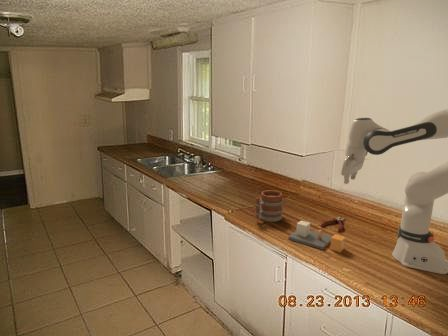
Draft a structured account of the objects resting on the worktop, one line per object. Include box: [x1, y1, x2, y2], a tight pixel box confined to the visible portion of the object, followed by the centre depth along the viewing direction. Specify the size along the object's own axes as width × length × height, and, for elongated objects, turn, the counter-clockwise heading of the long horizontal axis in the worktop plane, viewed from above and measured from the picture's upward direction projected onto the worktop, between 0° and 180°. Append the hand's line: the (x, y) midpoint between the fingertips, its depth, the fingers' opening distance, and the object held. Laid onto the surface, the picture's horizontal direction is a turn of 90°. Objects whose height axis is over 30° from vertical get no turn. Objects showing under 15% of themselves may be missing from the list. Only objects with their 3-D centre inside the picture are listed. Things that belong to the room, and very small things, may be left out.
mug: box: [254, 189, 284, 223], centre depth 193 cm, size 14×19×15 cm
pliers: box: [320, 216, 346, 233], centre depth 188 cm, size 12×20×3 cm, turn 143°
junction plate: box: [287, 220, 334, 250], centre depth 168 cm, size 18×14×8 cm
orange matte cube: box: [329, 233, 346, 254], centre depth 159 cm, size 5×5×6 cm
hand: (349, 181), depth 157 cm, fingers open, 8 cm apart
